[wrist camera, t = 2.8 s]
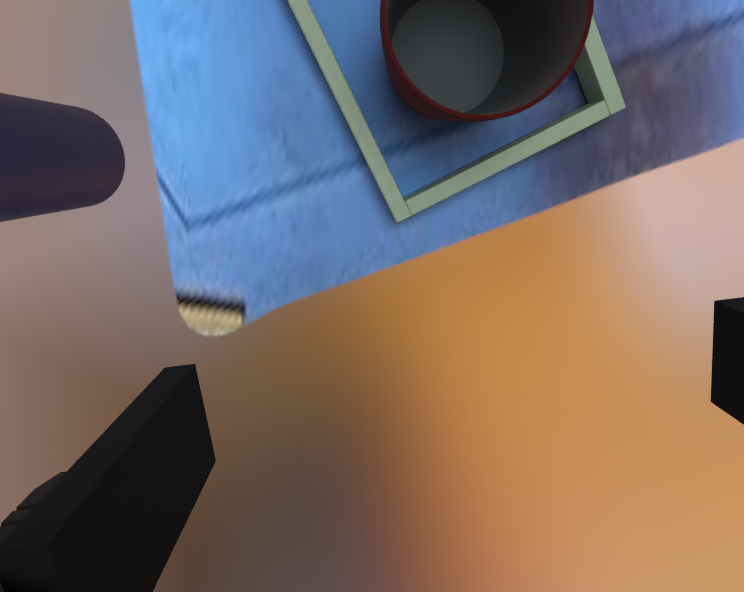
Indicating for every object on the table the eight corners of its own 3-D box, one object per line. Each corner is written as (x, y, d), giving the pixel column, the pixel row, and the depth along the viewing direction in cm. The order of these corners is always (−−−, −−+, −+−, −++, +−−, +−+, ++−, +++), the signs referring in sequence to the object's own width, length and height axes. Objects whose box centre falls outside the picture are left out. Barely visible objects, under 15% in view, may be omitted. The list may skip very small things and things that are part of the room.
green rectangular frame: (394, 218, 36) (397, 223, 33) (257, -59, 31) (249, -78, 29) (607, 110, 34) (626, 107, 32) (494, -195, 30) (505, -226, 28)
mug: (340, -56, 32) (330, -167, 21) (488, -103, 31) (556, -241, 20) (396, 149, 34) (412, 144, 24) (532, 108, 34) (610, 85, 23)
